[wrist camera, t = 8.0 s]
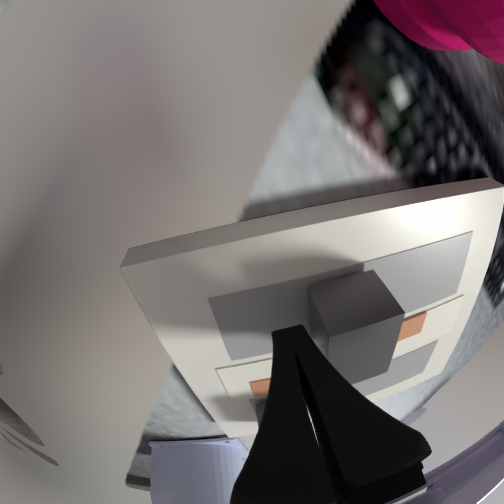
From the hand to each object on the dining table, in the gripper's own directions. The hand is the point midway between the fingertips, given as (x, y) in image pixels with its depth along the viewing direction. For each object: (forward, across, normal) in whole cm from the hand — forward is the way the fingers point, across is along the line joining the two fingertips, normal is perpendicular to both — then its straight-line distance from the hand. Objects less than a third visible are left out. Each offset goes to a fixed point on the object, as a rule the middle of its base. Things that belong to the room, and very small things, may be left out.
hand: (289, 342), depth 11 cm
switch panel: (+3, -4, +4) cm, 7 cm away
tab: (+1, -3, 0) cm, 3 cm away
